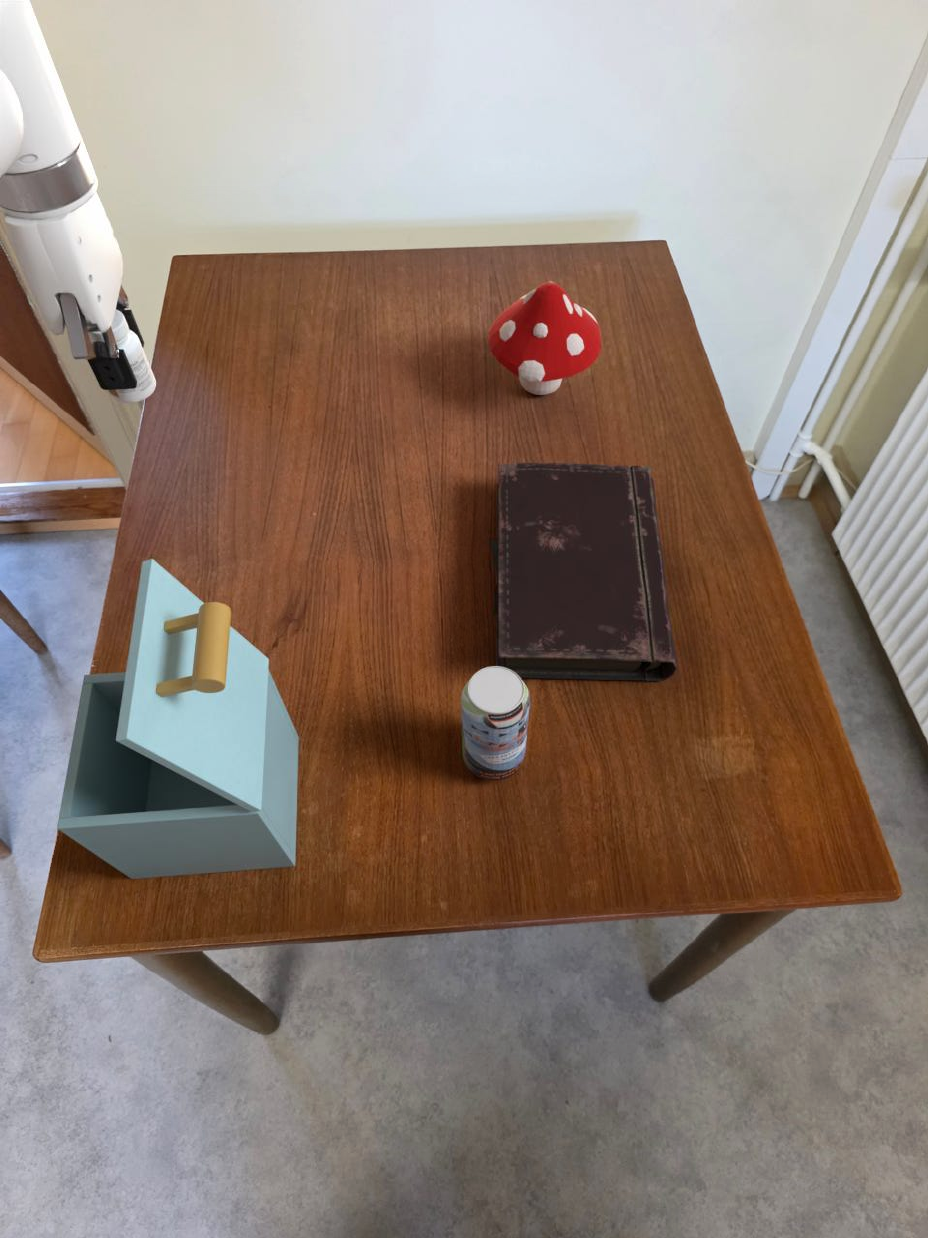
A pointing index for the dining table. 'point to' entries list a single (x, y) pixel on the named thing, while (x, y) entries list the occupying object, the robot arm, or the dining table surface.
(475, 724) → the beverage can
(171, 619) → the lid
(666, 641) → the diary
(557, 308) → the decorative mushroom
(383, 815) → the dining table surface
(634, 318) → the dining table surface
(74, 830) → the chest
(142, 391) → the pill bottle
